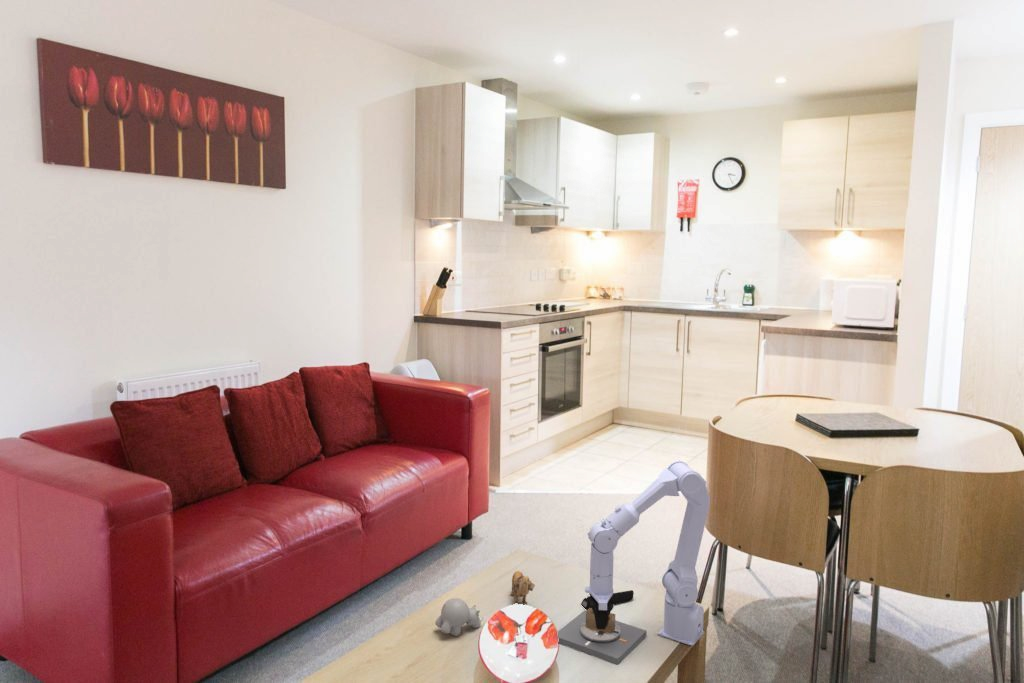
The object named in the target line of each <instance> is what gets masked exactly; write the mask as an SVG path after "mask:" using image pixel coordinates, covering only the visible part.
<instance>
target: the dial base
mask: <svg viewBox="0 0 1024 683" xmlns="http://www.w3.org/2000/svg"><path fill="white" fill-rule="evenodd" d="M586 611H587V610H585V609H584V610H583V611H582V612H581V613H579V614H578V615H577V616H576V617H574V618H573V619H572V620H570V621H569V622H568V623H566V624H564V626H562V628H560V629H559V630H557V632H558V638H559V643H558V644H560V645H563V646H566V647H567V648H571V649H574V650H576V651H579V652H581V653H585V654H587V655H590V656H593V657H596V658H599V659H601V660H604V661H607V662H609V663H612V664H615V665H619V664H620V663H621V662H622V661H623V660H624V659H625V658H626V657H627V656H628V655H629V654H631V652H632V651H633V650H634V649H635V648H636V647H637V646H639V644H640V643H641V642H642V641H643V640H644V639H645V638H647V635H648V634H647V633H648V632H647V630H646V629H643V628H639V627H636V626H633V625H631V624H627V623H625V622H622V621H619V620H616V619H615V623H616V624H618V625H619V627H620V636H619V637H618V638H617V639H616V640H614V641H611V642H595V641H591V640H589V639H587V638H585V637H584V636H583V635H582V634H581V632H580V626H581V624H582V623H583V622H584V621H586Z"/></svg>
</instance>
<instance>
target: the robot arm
mask: <svg viewBox="0 0 1024 683" xmlns="http://www.w3.org/2000/svg"><path fill="white" fill-rule="evenodd" d="M679 492H680V493H681V494H682V496H683V498H685V500H686V501H687V503H686V507H685V511H684V516H683V521H682V524H681V529H680V533H679V538H678V543H677V548H676V550H675V555H674V559H673V560H671V562H669V563H668V567H667V569H666V570H665V571H664V573H663V575H662V579H661V581H662V586H663V587H664V589H665V595H664V608H663V609H664V613H663V627H662V628H661V629H659V631H658V632H657V635H658V636H660V637H664V638H667V639H669V640H673V641H676V642H679V643H682V644H686V645H689V646H693V647H694V646H695V644H696V643H697V642H698V640H700V638H701V637H702V636H703V635H704V634H705V631H704V614H705V613H704V607H703V606H702V605H700V604H698V603H696V601H697V599H698V598H699V592H698V581H699V580H698V576H697V571H696V566H697V561H698V557H699V552H700V549H701V543H702V539H703V536H704V531H705V527H706V522H707V517H708V515H709V514H708V512H709V510H710V505H711V498H710V495H709V494H710V493H709V492H708V487H707V481H706V480H705V478H704V477H703V476H702V475H701V474H700V473H699V472H697V471H695V470H694V469H693V468H691V467H690V466H689V465H688V464H687V463H686V462H684V461H680V460H677V461H673V462H671V463H670V464H669V465H668V467H666V468H664V469H663V470H661V472H660V474H659V475H658V477H657V478H656V479H655V480H654V481H653V482H651V484H649V486H648V487H646V488H645V490H644V491H642V492H641V493H640V494H639V495H638V496H637V497H636V498H635V499H634V500H633V501H632V502H631V503H622V504H621V505H617V506H615V507H614V509H615V510H614V511H613V512H612V513H611V514H610V515H608V516H607V517H606V518H605V519H604V518H603V519H602V520H601V521H600V522H599V523H595V524H593V525H592V526H591V528H590V529H589V530H590V531H589V532H587V537H588V539H589V541H590V542H591V543H590V556H589V557H590V559H589V562H590V564H589V586H585V587H584V592H585V593H587V594H589V596H591V599H592V601H590V605H591V608H592V610H593V612H594V616H595V623H596V628H597V629H605V628H606V625H607V620H608V616H609V614H610V613H612V610H613V609H614V605H613V603H608V601H609V599H610V598H611V596H612V595H613V593H614V588H613V587H614V585H613V584H614V550H615V549H616V548H617V545H618V542H619V540H620V539H621V538H622V537H623V536H624V535H625V534H626V533H628V532H629V531H630V530H632V529H633V527H634V526H636V525H637V524H638V523H639V521H640V516H641V515H642V514H643V513H644V512H645V511H646V510H648V509H649V508H651V507H652V506H653V505H655V504H656V503H657V502H658V501H660V500H661V499H662V498H664V497H665V496H666V497H667V496H669V497H680V493H679Z"/></svg>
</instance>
